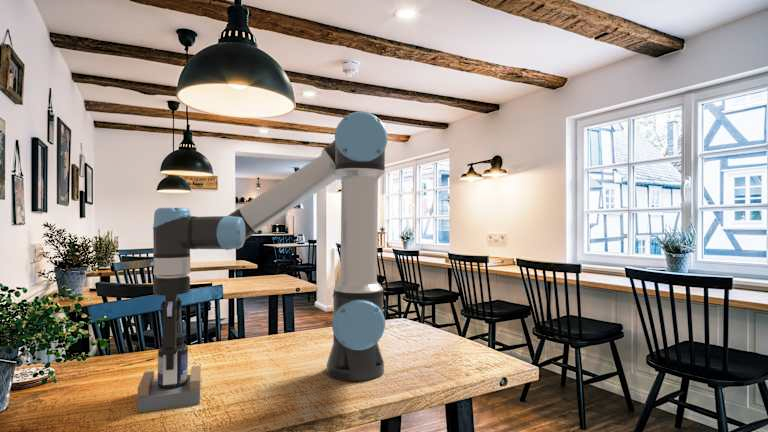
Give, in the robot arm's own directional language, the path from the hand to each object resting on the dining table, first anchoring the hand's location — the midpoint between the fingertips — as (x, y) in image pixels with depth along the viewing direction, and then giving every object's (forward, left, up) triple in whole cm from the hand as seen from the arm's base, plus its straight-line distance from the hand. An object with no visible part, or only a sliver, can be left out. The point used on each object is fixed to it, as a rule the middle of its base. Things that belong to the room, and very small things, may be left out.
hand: (171, 377), depth 102 cm
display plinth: (0, 0, -5) cm, 5 cm away
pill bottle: (0, 0, -2) cm, 2 cm away
